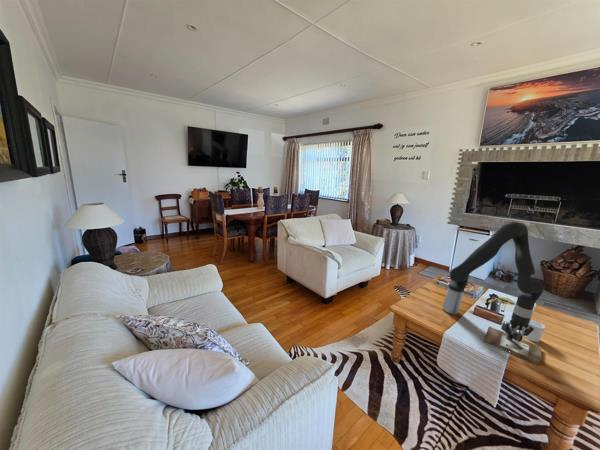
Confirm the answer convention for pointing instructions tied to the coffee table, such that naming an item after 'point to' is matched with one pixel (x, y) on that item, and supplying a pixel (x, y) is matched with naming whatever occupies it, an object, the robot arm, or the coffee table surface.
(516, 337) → the peg key
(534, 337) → the white cup
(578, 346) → the coffee table surface
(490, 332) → the tuner board
